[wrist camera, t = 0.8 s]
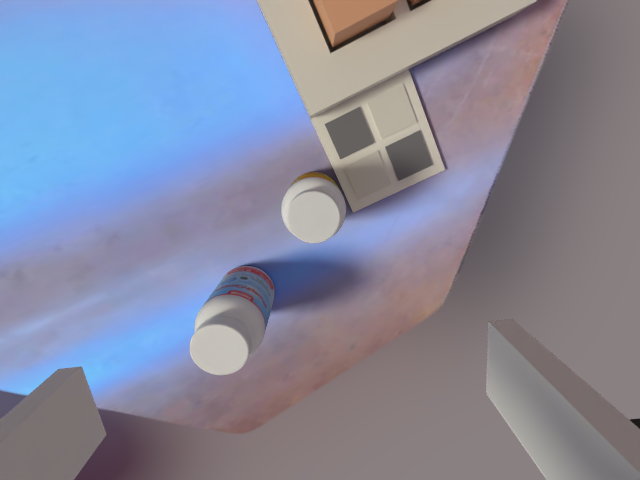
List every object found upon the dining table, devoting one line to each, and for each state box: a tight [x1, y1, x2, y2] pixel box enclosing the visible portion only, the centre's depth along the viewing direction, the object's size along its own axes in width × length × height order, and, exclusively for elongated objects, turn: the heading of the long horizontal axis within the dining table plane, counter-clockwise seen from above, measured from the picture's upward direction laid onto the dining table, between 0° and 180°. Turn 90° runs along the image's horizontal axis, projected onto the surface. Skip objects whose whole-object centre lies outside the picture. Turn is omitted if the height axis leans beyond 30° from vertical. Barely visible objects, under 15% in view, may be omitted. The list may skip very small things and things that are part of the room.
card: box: [311, 69, 445, 213], centre depth 32 cm, size 10×10×1 cm
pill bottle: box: [190, 266, 275, 375], centre depth 31 cm, size 6×6×11 cm
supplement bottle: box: [282, 172, 346, 243], centre depth 29 cm, size 5×5×10 cm
